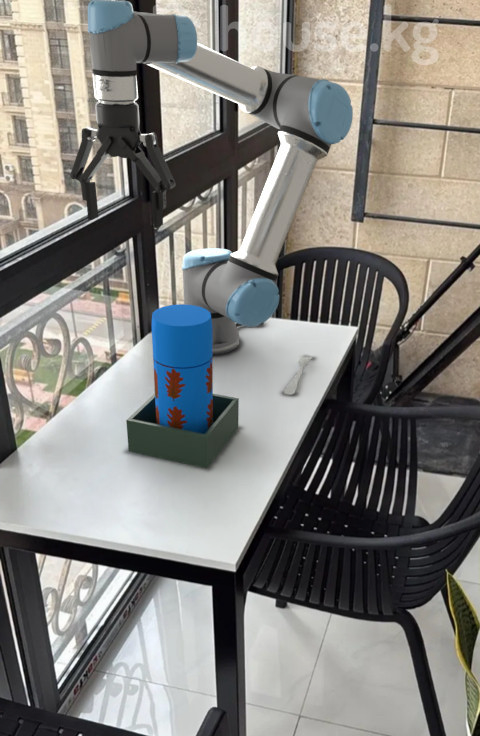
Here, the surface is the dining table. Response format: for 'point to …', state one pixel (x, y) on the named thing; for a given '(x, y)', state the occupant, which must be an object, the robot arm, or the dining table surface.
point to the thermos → (183, 367)
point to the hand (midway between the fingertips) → (125, 222)
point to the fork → (293, 384)
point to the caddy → (182, 434)
